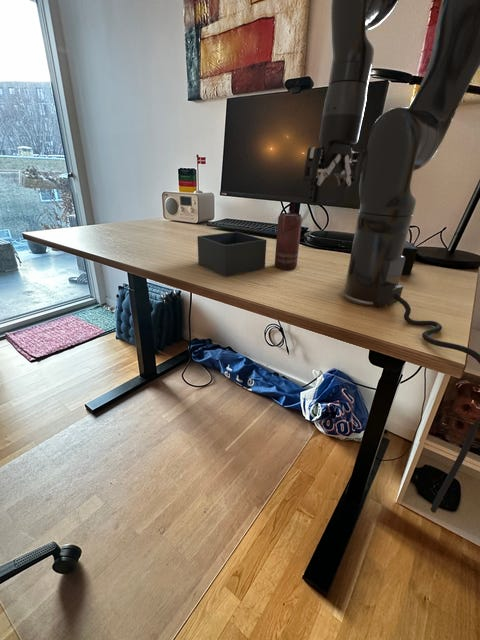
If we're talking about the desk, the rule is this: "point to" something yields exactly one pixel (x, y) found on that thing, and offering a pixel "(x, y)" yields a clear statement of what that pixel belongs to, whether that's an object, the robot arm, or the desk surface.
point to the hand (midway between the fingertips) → (326, 204)
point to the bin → (231, 252)
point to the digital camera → (409, 257)
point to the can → (287, 240)
